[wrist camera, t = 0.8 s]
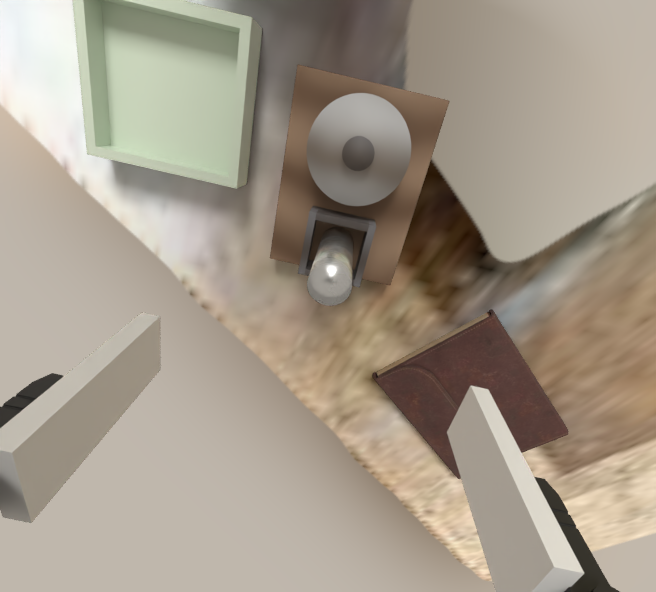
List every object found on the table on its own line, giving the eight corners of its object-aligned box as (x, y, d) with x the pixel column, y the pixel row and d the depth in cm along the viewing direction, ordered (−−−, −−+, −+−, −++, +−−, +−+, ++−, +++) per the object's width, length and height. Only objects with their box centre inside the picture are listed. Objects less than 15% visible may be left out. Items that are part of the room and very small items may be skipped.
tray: (99, -11, 27) (69, -27, 24) (262, 28, 27) (251, 17, 24) (110, 152, 32) (87, 154, 29) (246, 184, 32) (236, 188, 29)
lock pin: (324, 223, 31) (311, 260, 22) (356, 230, 31) (356, 270, 22) (318, 254, 32) (303, 300, 23) (348, 261, 32) (346, 309, 23)
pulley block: (301, 68, 28) (289, 55, 23) (443, 102, 28) (461, 96, 23) (274, 251, 35) (261, 270, 30) (388, 277, 35) (393, 300, 30)
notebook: (490, 306, 36) (497, 315, 34) (563, 423, 42) (572, 436, 40) (372, 370, 41) (372, 381, 39) (453, 467, 47) (457, 480, 45)
